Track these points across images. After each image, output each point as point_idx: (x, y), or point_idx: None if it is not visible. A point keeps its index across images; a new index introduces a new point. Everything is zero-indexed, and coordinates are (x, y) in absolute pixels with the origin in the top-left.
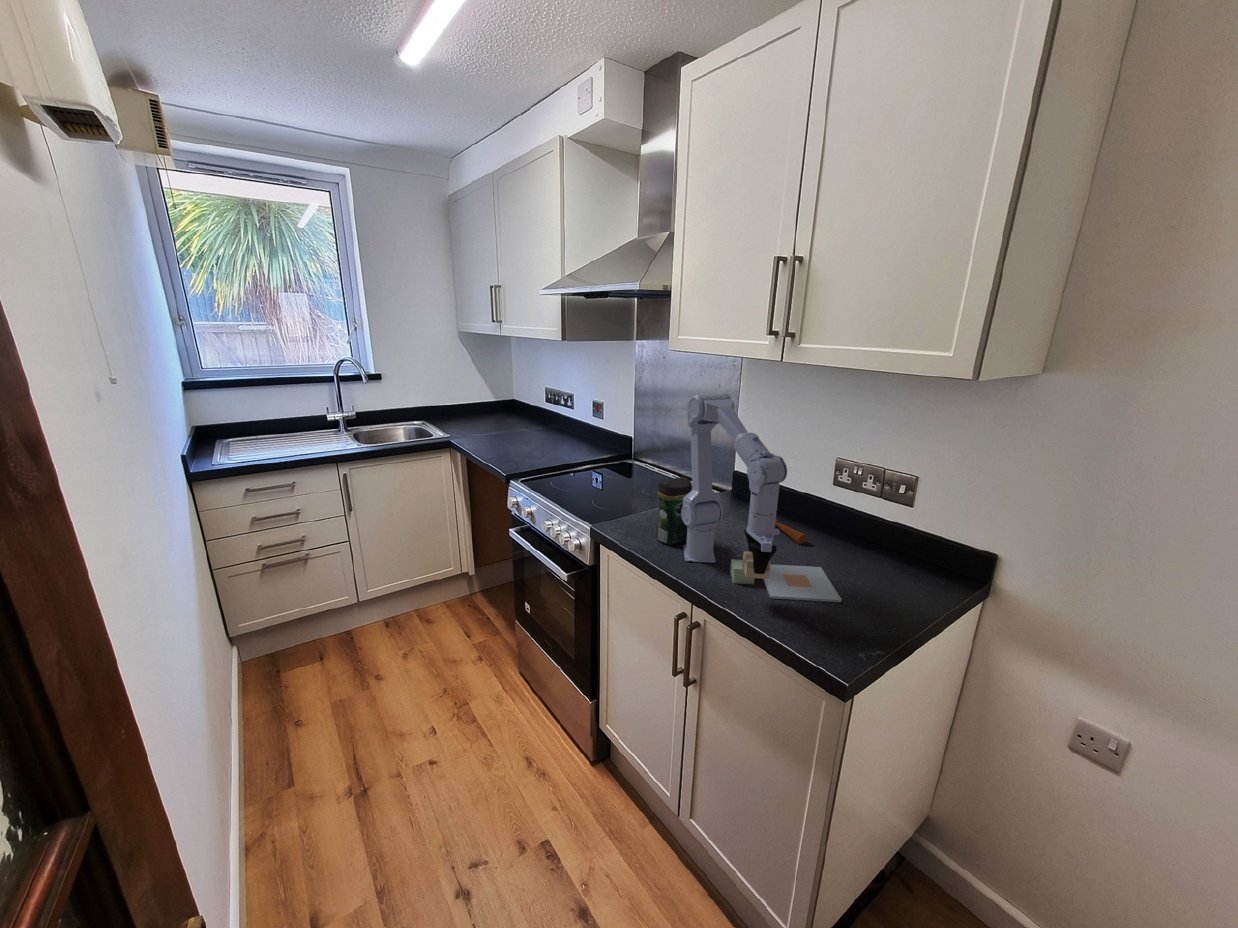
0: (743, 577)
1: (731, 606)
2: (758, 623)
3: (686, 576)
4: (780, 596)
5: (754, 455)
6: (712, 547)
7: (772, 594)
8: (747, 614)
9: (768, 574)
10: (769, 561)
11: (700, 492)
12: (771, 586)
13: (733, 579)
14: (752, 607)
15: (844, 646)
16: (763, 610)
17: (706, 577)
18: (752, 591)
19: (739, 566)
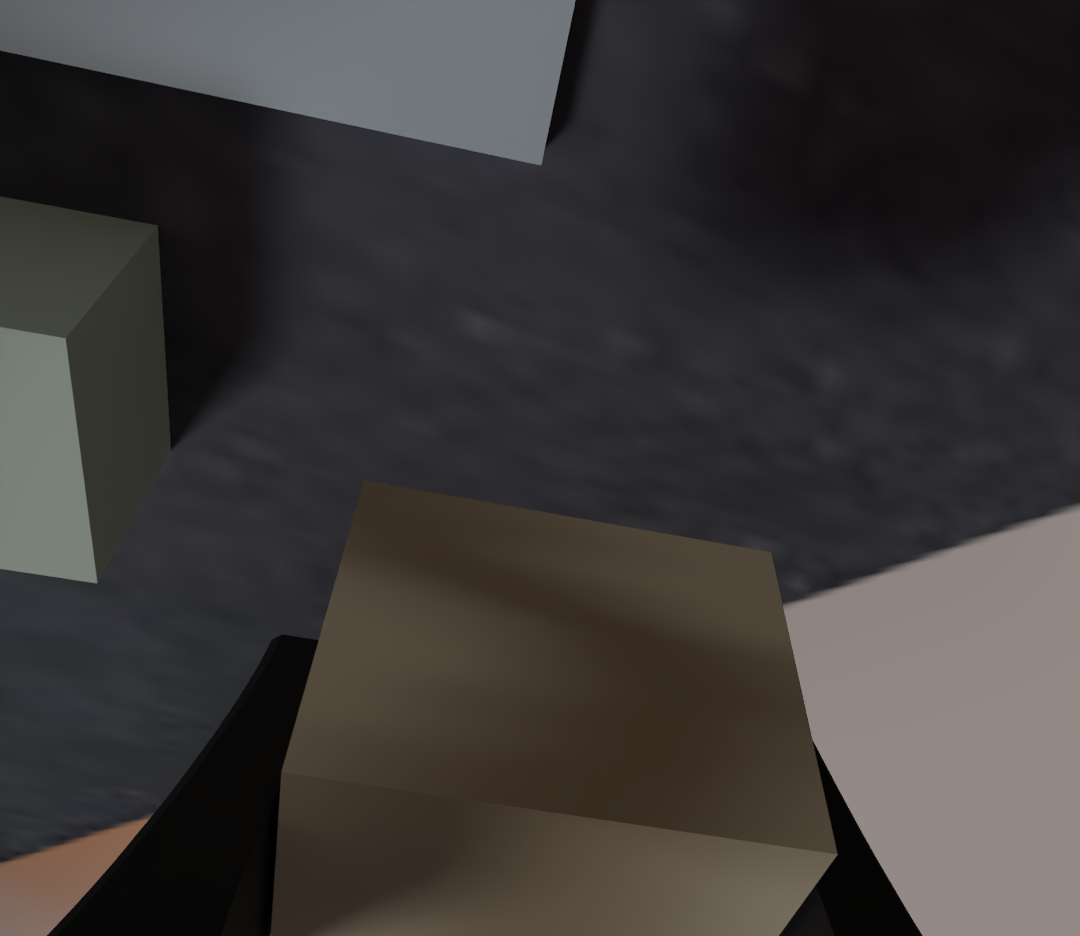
0: (135, 403)
1: None
2: (1009, 481)
3: (107, 757)
4: (570, 18)
5: None
6: None
7: (502, 121)
8: (824, 518)
9: (784, 624)
10: (781, 849)
11: None
12: (261, 33)
13: (152, 478)
14: (710, 433)
15: None
16: (798, 347)
17: (91, 636)
18: (359, 312)
19: (3, 508)
